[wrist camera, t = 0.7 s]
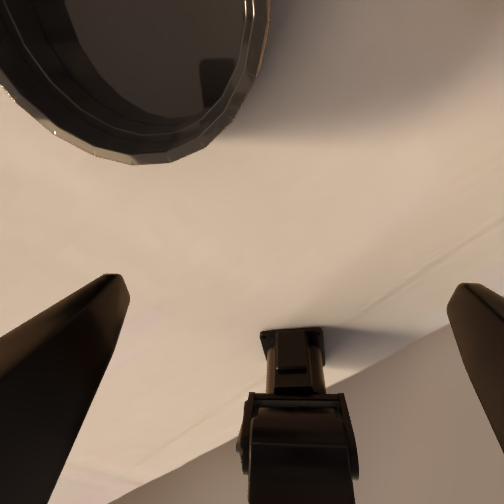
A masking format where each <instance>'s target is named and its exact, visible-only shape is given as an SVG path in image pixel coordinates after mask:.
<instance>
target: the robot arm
mask: <svg viewBox="0 0 504 504" xmlns="http://www.w3.org/2000/svg"><path fill="white" fill-rule="evenodd" d="M129 302H130V295H129V292H128V290H127V287H126V284H125V282H124V279H123V277H122V276H121V275H120V274H104V275H102V276H100V277H99V278H97V279H95V280H94V281H92V282H90V283H89V284H87V285H86V286H84V287H82V288H81V289H79V290H77V291H76V292H74V293H72V294H71V295H69V296H68V297H66V298H64V299H63V300H61V301H59V302H58V303H56V304H54V305H53V306H51V307H49V308H48V309H46V310H45V311H43V312H41V313H40V314H38V315H36V316H35V317H33V318H31V319H30V320H28V321H27V322H25V323H23V324H22V325H20V326H18V327H17V328H15V329H13V330H12V331H10V332H9V333H7V334H5V335H4V336H2V337H0V504H47V503H48V501H49V499H50V496H51V494H52V492H53V490H54V487H55V485H56V483H57V480H58V478H59V476H60V474H61V471H62V469H63V467H64V465H65V462H66V460H67V458H68V455H69V453H70V451H71V449H72V446H73V444H74V442H75V439H76V437H77V435H78V433H79V430H80V428H81V426H82V423H83V421H84V419H85V417H86V414H87V412H88V410H89V407H90V405H91V403H92V401H93V398H94V396H95V394H96V392H97V389H98V387H99V385H100V382H101V380H102V378H103V376H104V373H105V371H106V369H107V366H108V364H109V362H110V360H111V357H112V355H113V352H114V350H115V347H116V344H117V341H118V338H119V334H120V331H121V328H122V325H123V322H124V318H125V315H126V312H127V309H128V306H129ZM447 315H448V318H449V321H450V324H451V327H452V330H453V333H454V336H455V339H456V342H457V345H458V348H459V351H460V354H461V357H462V360H463V363H464V366H465V369H466V371H467V373H468V376H469V378H470V380H471V382H472V384H473V387H474V389H475V391H476V393H477V396H478V398H479V400H480V402H481V404H482V406H483V409H484V411H485V413H486V415H487V417H488V420H489V422H490V424H491V426H492V429H493V431H494V433H495V435H496V437H497V440H498V442H499V444H500V446H501V448H502V451H503V453H504V298H503V297H502V296H500V295H498V294H497V293H495V292H493V291H491V290H490V289H488V288H486V287H485V286H483V285H481V284H478V283H461V284H459V285H458V286H457V288H456V289H455V291H454V293H453V295H452V297H451V299H450V301H449V303H448V305H447ZM260 340H261V343H262V347H263V350H264V353H265V357H266V360H267V379H266V393H255V392H249V397H248V400H247V401H245V405H244V415H243V422H242V425H241V429H240V433H239V436H238V440H237V443H236V451H237V453H238V454H239V455H240V457H241V463H242V470H243V474H244V475H248V502H249V504H355V498H354V490H353V482H352V480H358V479H359V464H358V455H357V448H356V442H355V437H354V432H353V428H352V425H351V420H350V416H349V412H348V409H347V404H346V400H345V396H344V393H338V394H326V388H325V381H324V373H323V366H325V352H324V340H323V331H322V329H321V328H303V329H287V330H272V331H262V332H260Z"/></svg>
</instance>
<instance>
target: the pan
mask: <svg viewBox="0 0 504 504" xmlns="http://www.w3.org/2000/svg"><path fill="white" fill-rule="evenodd" d="M269 24H270V0H0V85H1V86H2V87H3V88H4V90H5V91H6V92H7V93H8V94H9V96H10V97H11V98H12V99H13V100H14V102H16V103H17V104H18V105H19V106H20V107H21V108H23V109H24V110H25V111H26V112H27V113H29V114H30V115H31V116H32V117H33V118H35V119H36V120H37V121H38V122H39V123H41V124H42V125H43V126H44V127H45V128H46V129H48V130H49V131H50V132H51V133H52V134H55V135H56V136H57V137H59V138H61V139H63V140H65V141H67V142H69V143H71V144H73V145H74V146H76V147H78V148H80V149H82V150H84V151H86V152H88V153H90V154H91V155H95V156H96V157H100V158H104V159H109V160H113V161H117V162H121V163H125V164H129V165H147V164H162V163H170V162H174V161H176V160H179V159H181V158H183V157H185V156H188V155H190V154H192V153H195V152H197V151H199V150H201V149H204V148H205V147H206V146H207V145H208V144H209V143H210V142H212V141H213V140H214V139H215V138H216V137H217V136H218V135H219V134H220V133H221V132H222V131H223V130H224V129H225V128H226V127H227V126H228V125H229V124H230V123H231V122H232V121H233V120H234V119H235V117H236V115H237V113H238V111H239V109H240V107H241V105H242V104H243V102H244V100H245V98H246V96H247V94H248V92H249V90H250V88H251V86H252V84H253V82H254V80H255V79H256V76H257V74H258V72H259V70H260V67H261V63H262V58H263V54H264V49H265V44H266V39H267V34H268V29H269Z"/></svg>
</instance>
